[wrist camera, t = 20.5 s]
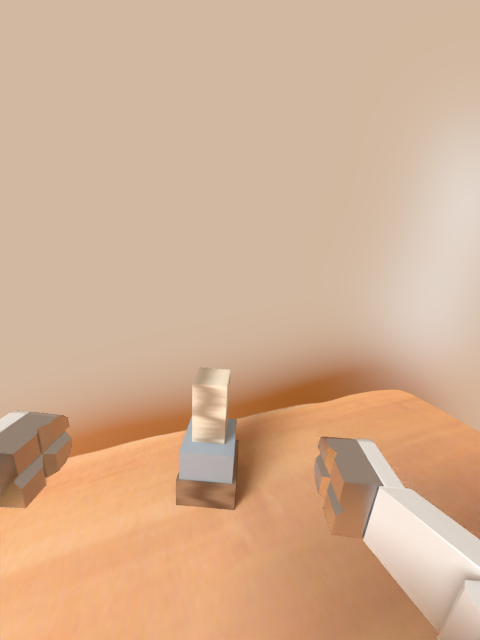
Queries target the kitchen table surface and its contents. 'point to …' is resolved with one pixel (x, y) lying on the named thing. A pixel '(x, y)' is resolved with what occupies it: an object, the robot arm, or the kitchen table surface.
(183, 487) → the walnut base block
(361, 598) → the kitchen table surface
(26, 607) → the kitchen table surface
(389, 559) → the robot arm
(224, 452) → the slate-blue top block
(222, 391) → the cream pillar block
